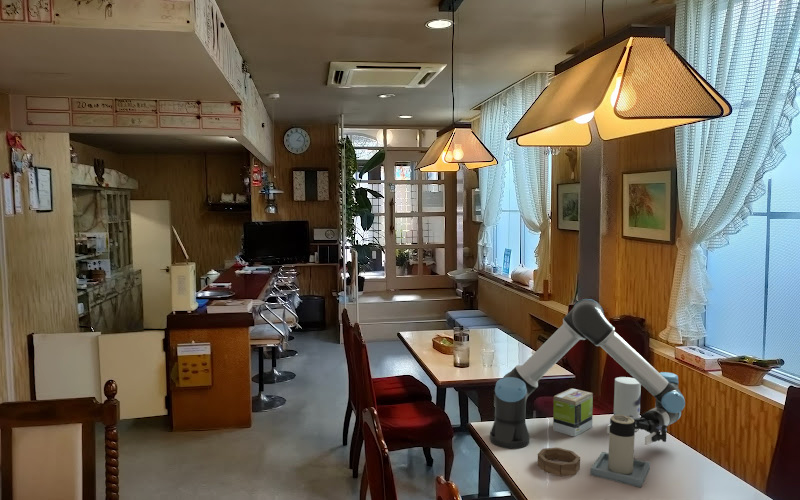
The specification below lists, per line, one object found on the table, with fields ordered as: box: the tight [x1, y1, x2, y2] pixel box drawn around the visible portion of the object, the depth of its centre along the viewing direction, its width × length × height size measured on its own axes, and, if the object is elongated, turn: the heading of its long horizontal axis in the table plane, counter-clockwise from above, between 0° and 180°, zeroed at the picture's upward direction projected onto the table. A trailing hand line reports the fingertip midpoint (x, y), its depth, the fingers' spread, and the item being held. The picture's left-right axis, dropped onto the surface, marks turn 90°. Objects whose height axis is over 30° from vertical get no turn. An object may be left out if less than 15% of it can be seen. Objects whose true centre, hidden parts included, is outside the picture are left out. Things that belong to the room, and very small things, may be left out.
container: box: [613, 376, 642, 432], centre depth 239 cm, size 10×10×20 cm
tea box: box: [552, 387, 594, 437], centre depth 237 cm, size 15×10×15 cm
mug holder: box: [536, 447, 581, 477], centre depth 202 cm, size 13×13×4 cm
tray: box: [590, 451, 651, 489], centre depth 199 cm, size 16×16×2 cm
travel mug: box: [608, 414, 636, 474], centre depth 198 cm, size 8×8×18 cm
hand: (626, 435), depth 199 cm, fingers open, 13 cm apart
